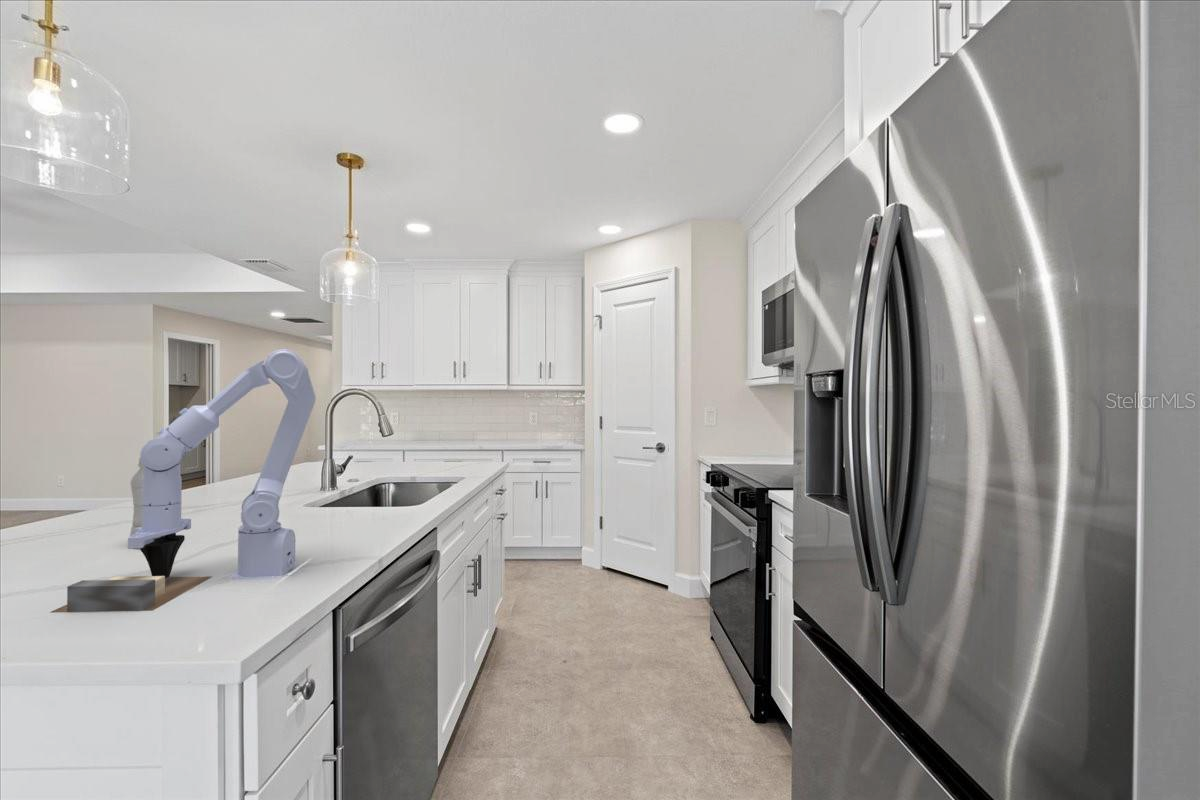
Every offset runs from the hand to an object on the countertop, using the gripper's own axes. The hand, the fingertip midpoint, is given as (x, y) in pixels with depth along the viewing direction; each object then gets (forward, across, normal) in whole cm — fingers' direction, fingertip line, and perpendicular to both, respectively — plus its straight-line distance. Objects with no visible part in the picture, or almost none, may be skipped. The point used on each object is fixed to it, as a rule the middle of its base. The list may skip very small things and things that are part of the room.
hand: (161, 577), depth 105 cm
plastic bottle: (+2, -29, -20) cm, 35 cm away
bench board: (+2, +5, -1) cm, 5 cm away
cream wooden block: (+1, +8, 0) cm, 8 cm away
